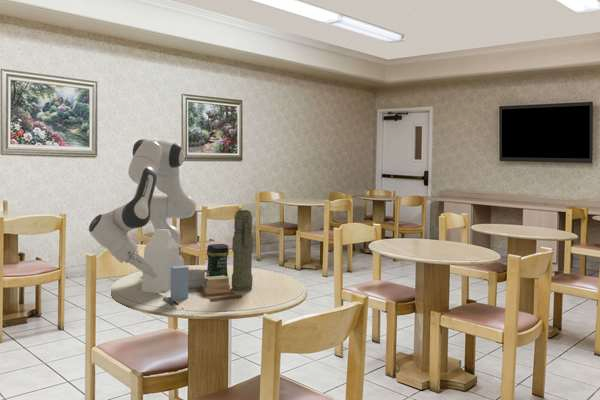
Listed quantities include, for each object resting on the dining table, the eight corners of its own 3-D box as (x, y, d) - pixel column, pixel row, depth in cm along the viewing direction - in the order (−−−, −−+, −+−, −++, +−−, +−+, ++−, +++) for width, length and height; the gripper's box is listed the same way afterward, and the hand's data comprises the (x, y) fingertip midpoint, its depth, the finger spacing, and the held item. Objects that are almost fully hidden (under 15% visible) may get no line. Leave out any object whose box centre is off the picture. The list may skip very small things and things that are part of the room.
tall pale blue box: (170, 299, 209) (171, 266, 208) (185, 297, 212) (185, 265, 211) (173, 301, 206) (173, 268, 205) (188, 299, 209) (188, 267, 208)
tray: (195, 293, 220) (195, 288, 220) (224, 290, 227) (224, 285, 227) (211, 304, 205) (211, 298, 205) (241, 300, 212) (241, 295, 212)
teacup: (185, 293, 221) (186, 274, 221) (175, 287, 230) (175, 269, 230) (215, 289, 230) (216, 271, 229) (204, 284, 238) (205, 266, 238)
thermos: (237, 295, 220) (238, 212, 217) (227, 289, 230) (229, 209, 228) (256, 293, 224) (258, 211, 222) (246, 287, 234) (248, 209, 232)
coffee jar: (211, 287, 232) (212, 245, 231) (203, 284, 238) (204, 243, 237) (230, 285, 238) (231, 244, 237) (222, 281, 244) (222, 242, 243)
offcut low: (202, 291, 220) (202, 284, 220) (225, 289, 225) (225, 282, 225) (207, 294, 216) (207, 287, 216) (229, 291, 221) (229, 284, 221)
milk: (180, 288, 230) (181, 228, 228) (167, 294, 219) (167, 232, 217) (156, 285, 233) (156, 227, 232) (141, 291, 222) (142, 230, 220)
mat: (163, 299, 210) (163, 297, 210) (187, 296, 216) (187, 295, 216) (170, 305, 202) (170, 303, 202) (195, 302, 207) (195, 301, 207)
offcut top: (204, 284, 220) (204, 277, 220) (224, 282, 225) (224, 275, 224) (208, 286, 216) (208, 279, 216) (228, 284, 220) (228, 277, 220)
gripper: (139, 248, 189) (165, 273, 194) (125, 240, 206) (150, 263, 212) (126, 261, 186) (153, 286, 192) (113, 252, 204) (139, 275, 210)
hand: (151, 274), depth 202 cm, fingers open, 8 cm apart
